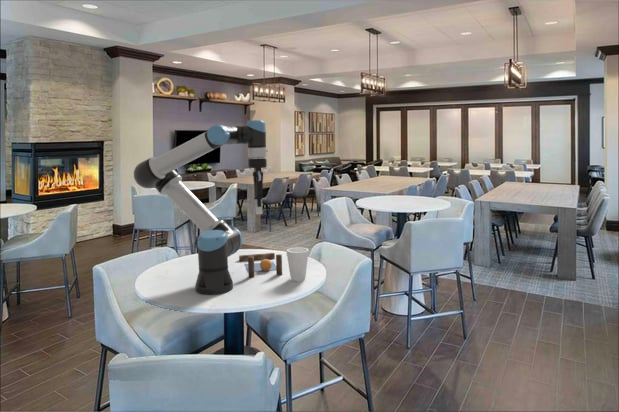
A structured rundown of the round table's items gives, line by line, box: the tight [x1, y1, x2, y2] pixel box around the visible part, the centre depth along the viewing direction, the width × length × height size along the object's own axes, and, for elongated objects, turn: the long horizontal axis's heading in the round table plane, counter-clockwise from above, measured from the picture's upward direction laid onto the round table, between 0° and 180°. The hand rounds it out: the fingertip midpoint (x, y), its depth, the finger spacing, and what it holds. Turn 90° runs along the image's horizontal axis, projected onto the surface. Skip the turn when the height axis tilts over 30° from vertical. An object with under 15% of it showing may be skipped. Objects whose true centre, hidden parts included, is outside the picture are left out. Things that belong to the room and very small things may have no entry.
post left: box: [247, 256, 255, 279], centre depth 199 cm, size 3×3×9 cm
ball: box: [259, 259, 272, 272], centre depth 209 cm, size 6×6×6 cm
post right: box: [275, 253, 283, 276], centre depth 202 cm, size 3×3×9 cm
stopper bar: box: [238, 252, 276, 262], centre depth 229 cm, size 18×2×2 cm, turn 104°
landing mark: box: [244, 261, 276, 273], centre depth 215 cm, size 14×14×1 cm
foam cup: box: [286, 246, 309, 282], centre depth 195 cm, size 10×9×13 cm
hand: (259, 214), depth 190 cm, fingers closed
